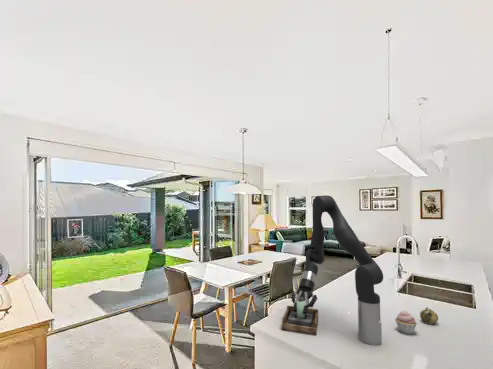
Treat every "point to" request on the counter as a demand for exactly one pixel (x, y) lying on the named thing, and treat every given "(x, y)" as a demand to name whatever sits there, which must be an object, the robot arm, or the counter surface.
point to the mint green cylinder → (300, 308)
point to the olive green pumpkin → (429, 316)
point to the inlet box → (300, 321)
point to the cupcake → (405, 322)
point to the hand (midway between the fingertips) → (299, 312)
